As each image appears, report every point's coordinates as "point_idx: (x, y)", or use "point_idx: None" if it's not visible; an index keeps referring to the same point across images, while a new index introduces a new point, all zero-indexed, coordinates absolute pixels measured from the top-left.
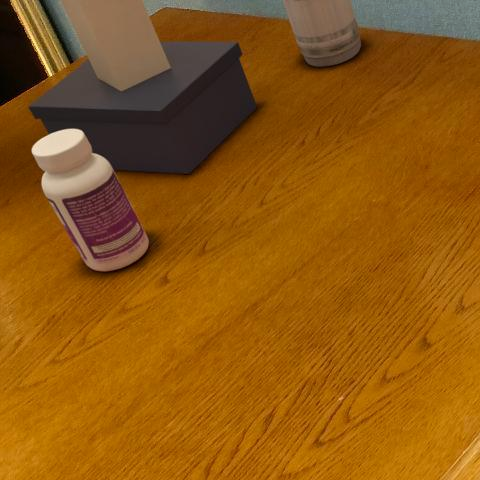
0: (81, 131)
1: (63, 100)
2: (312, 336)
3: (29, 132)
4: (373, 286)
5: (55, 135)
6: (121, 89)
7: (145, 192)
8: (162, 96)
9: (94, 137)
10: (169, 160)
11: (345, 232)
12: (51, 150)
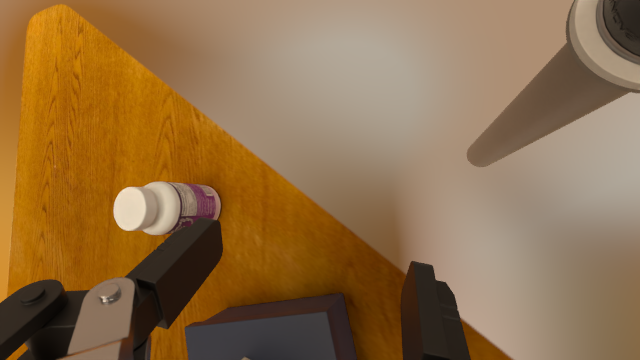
0: (122, 228)
1: (293, 330)
2: (79, 193)
3: None
4: (75, 235)
5: (136, 215)
6: (243, 358)
7: (242, 277)
8: (199, 351)
9: (281, 309)
10: (231, 310)
11: (105, 273)
12: (123, 196)
